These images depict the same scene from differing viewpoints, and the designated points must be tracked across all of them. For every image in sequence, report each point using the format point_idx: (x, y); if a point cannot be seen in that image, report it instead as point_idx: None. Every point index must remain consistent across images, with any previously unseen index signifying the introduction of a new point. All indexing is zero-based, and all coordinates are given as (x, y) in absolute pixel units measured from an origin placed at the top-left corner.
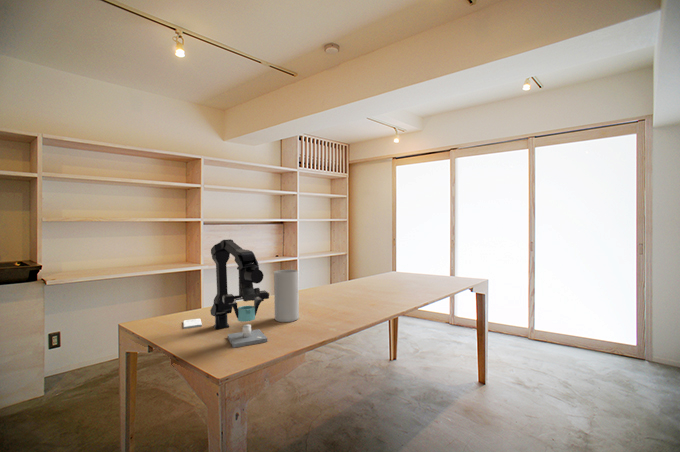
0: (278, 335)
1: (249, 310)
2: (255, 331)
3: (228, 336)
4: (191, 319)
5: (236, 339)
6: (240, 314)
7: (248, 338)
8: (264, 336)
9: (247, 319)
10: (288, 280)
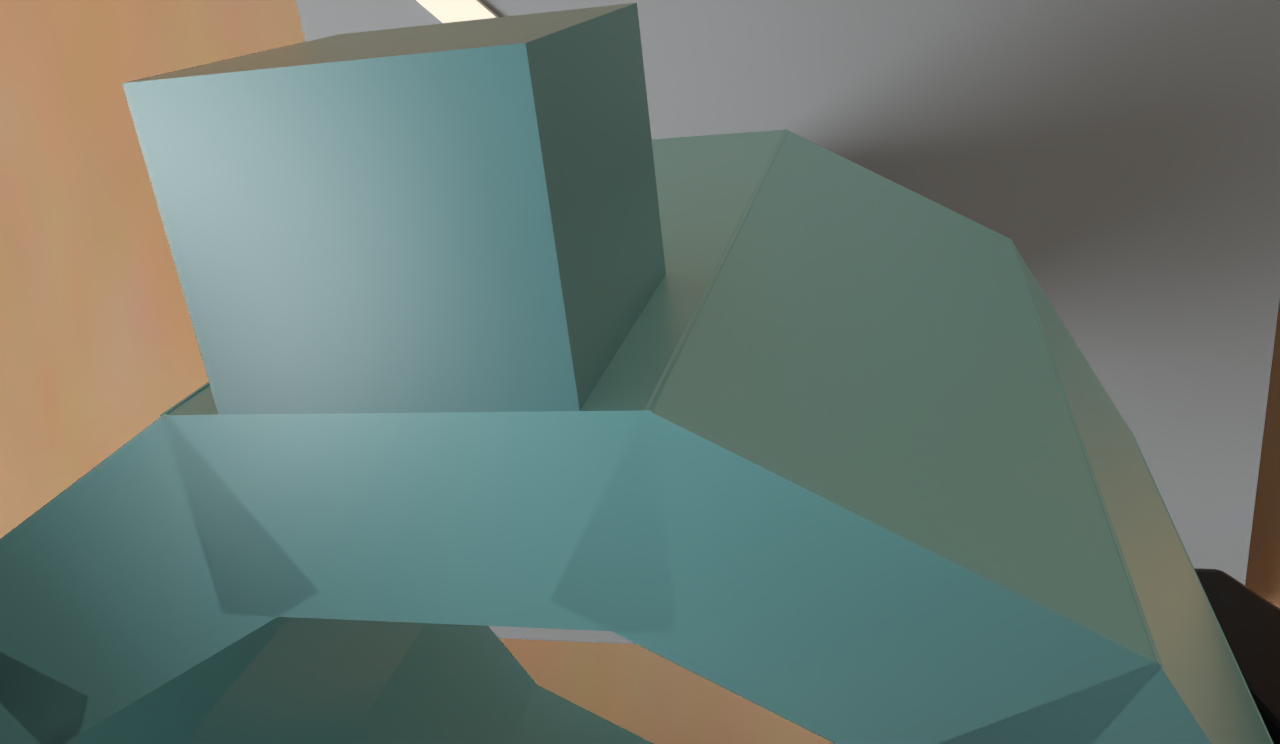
0: (76, 203)
1: (246, 63)
2: None
3: (1248, 519)
4: None
5: (1117, 126)
6: (1120, 490)
7: (765, 57)
8: (333, 33)
9: (682, 155)
10: None
